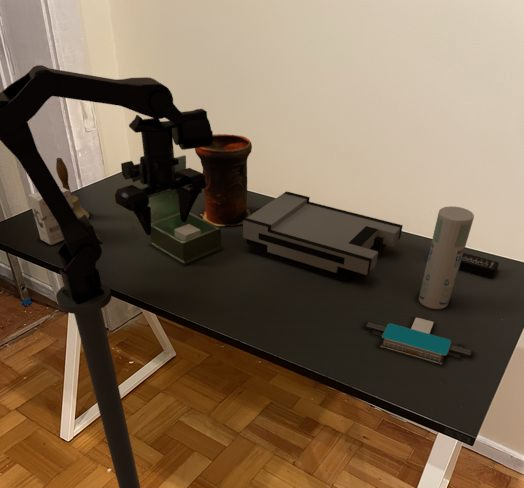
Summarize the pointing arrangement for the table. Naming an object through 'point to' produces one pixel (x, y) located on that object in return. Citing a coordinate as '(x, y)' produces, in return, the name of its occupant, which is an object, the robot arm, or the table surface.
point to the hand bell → (63, 177)
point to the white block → (186, 232)
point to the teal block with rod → (417, 341)
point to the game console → (318, 236)
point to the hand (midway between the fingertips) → (166, 227)
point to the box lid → (166, 198)
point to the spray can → (445, 256)
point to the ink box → (48, 217)
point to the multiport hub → (478, 265)
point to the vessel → (225, 179)
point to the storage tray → (189, 248)
